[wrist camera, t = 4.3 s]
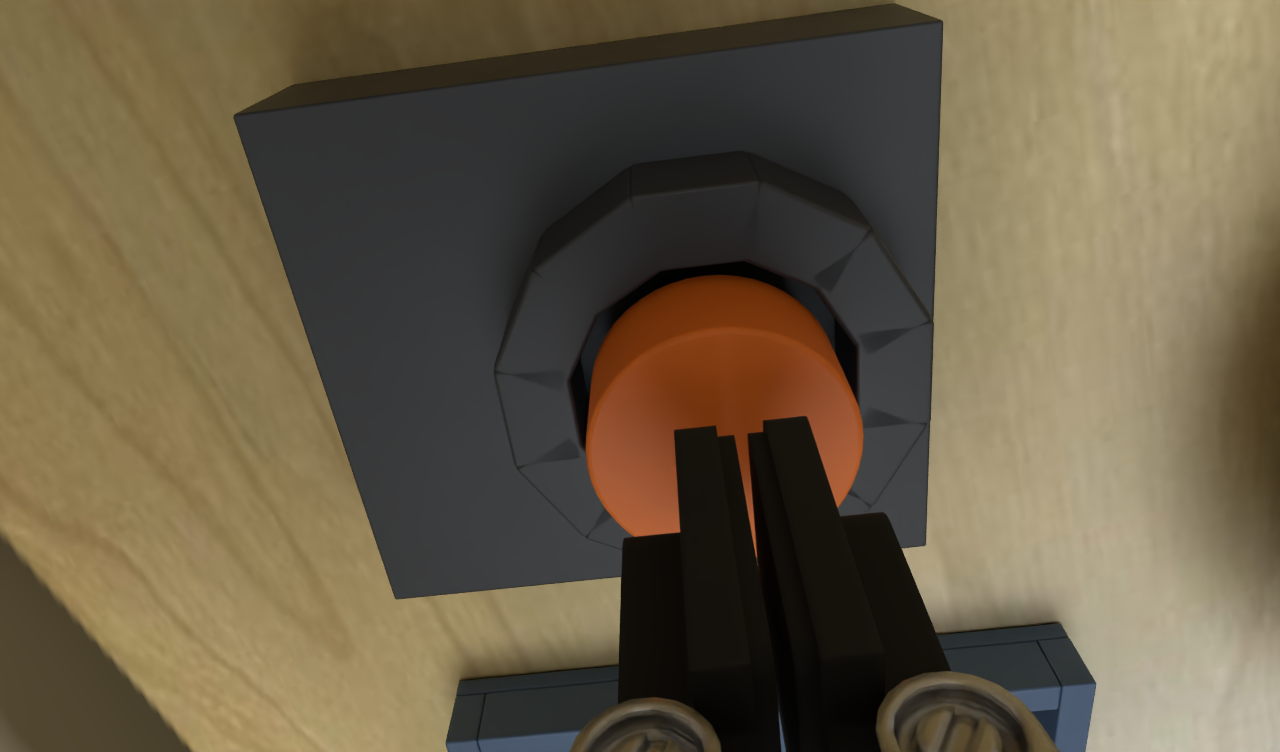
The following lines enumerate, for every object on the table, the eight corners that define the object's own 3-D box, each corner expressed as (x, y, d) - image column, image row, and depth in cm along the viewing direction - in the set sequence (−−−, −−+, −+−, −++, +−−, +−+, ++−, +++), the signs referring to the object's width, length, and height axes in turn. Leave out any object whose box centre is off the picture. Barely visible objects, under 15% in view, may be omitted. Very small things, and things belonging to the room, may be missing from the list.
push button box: (422, 521, 21) (372, 665, 17) (291, 84, 16) (177, 141, 12) (892, 471, 20) (955, 609, 16) (896, 2, 15) (987, 34, 12)
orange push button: (609, 498, 15) (606, 577, 14) (573, 288, 14) (563, 346, 12) (838, 474, 15) (866, 550, 13) (832, 257, 13) (863, 312, 12)
